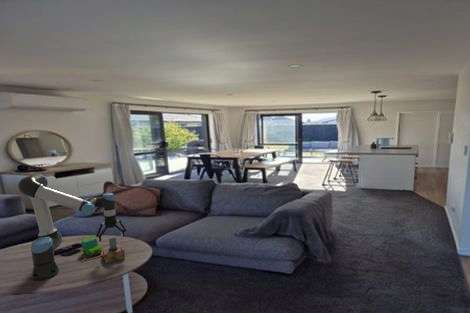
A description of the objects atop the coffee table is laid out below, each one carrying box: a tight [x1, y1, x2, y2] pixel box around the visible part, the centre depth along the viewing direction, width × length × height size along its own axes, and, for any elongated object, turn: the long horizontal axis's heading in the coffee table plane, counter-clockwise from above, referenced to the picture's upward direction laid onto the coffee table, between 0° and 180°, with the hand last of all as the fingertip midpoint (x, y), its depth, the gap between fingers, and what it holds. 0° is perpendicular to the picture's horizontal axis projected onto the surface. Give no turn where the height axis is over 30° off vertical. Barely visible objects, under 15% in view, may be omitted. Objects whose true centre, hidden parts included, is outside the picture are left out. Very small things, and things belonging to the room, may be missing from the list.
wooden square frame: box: [102, 243, 125, 264], centre depth 213 cm, size 13×13×6 cm
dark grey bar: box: [108, 235, 118, 251], centre depth 212 cm, size 4×4×15 cm
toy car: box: [81, 237, 103, 257], centre depth 220 cm, size 10×13×10 cm
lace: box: [80, 254, 103, 263], centre depth 213 cm, size 17×4×1 cm, turn 130°
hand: (112, 243), depth 212 cm, fingers open, 13 cm apart
